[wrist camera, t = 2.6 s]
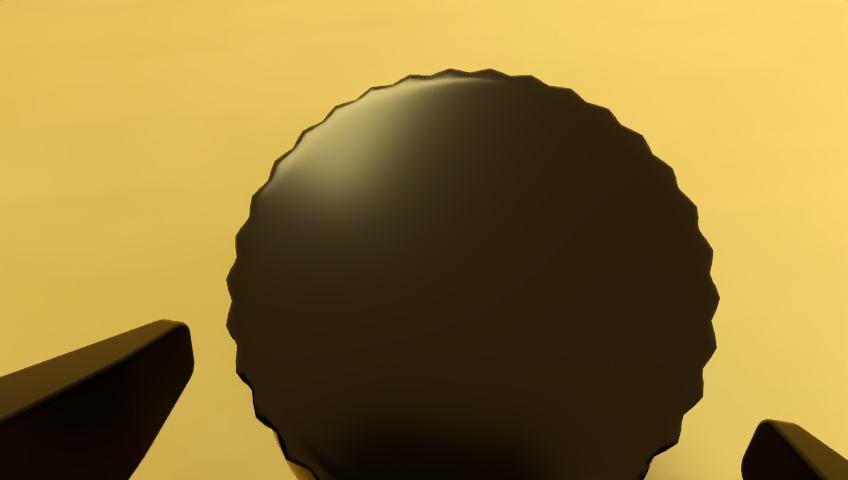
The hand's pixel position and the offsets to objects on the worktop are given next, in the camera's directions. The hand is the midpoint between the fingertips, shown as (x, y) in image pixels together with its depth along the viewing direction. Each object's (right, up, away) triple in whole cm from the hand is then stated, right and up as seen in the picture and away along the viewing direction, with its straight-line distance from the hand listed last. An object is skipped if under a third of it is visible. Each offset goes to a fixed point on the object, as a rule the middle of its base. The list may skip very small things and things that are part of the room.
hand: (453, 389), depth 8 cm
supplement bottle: (+1, -2, +8) cm, 9 cm away
